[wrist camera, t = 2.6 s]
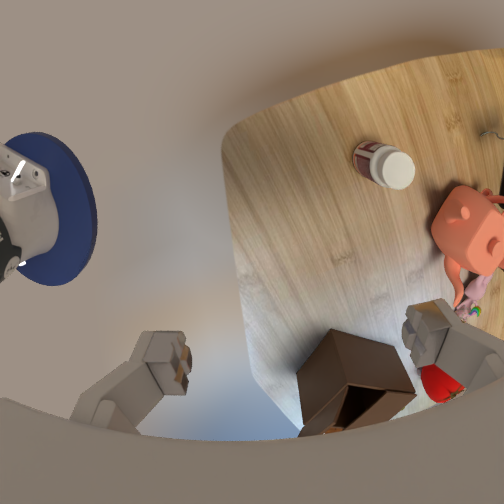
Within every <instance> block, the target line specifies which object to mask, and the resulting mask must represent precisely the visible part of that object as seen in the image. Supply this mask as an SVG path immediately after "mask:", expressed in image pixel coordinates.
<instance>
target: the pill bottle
mask: <svg viewBox="0 0 504 504" xmlns="http://www.w3.org/2000/svg"><path fill="white" fill-rule="evenodd" d="M353 164H354V167H355V169H356V170H357V171H358V173H360V174H361V175H362V176H364V177H366V178H368V179H370V180H371V181H373V182H375V183H377V184H378V185H380V186H382V187H386V188H392V189H396V190H401V189H404V188H406V187H408V186H409V185H410V184H411V182H412V181H413V178H414V175H415V166H414V163H413V161H412V159H411V157H410V156H409V155H407V154H406V153H404V152H402V151H401V150H400V149H398V148H397V147H395V146H391V145H386V144H382V143H378V142H373V141H366V142H363V143H361V144H360V145H358V147H357V148H356V149H355V151H354V154H353Z"/></svg>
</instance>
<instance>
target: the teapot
mask: <svg viewBox="0 0 504 504" xmlns="http://www.w3.org/2000/svg"><path fill="white" fill-rule="evenodd" d="M488 195H489V196H488ZM492 203H504V196H500V195H495V196H493V193H492V191H491V190H490V189H484V190H483V191H482V192H481V193H479V192H478V191H476V190H474V189H473V188H471V187H469V186H465V185H462V186H458V187H455V188H454V189H453V190H452V191H451V193H450V194H449V196H448V197H447V199H446V200H445V202H444V203H443V205H442V207H441V208H440V210H439V212H438V214H437V215H436V217H435V219H434V221H433V223H432V226H431V232H432V236H433V238H434V240H435V242H436V244H437V246H438V247H439V248H440V250H441V251H442V252H443V254H444V255H445V259H444V268H445V272H446V274H447V276H448V278H449V279H450V281H451V283H452V284H453V286H454V289H455V300H454V307H456V306H457V305H458V304H459V302H460V301H461V299H462V297H463V293H464V287H463V284H462V282H461V279H460V276H459V274H460V269H461V267H462V268H464V269H467V270H469V271H471V272H474V273H476V274H479V275H482V276H487V277H488V276H490V275H492V273H493V272H494V271H495V270H496V268H497V267H500V268H502V269H504V211H503V213H502V214H501V213H500V212H499V211H498V209H497V208H496V207H495V206H494V205H493V204H492Z"/></svg>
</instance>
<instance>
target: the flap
mask: <svg viewBox="0 0 504 504" xmlns="http://www.w3.org/2000/svg"><path fill="white" fill-rule="evenodd" d="M348 388H349V387H348V386H346V387H345V388H344V389H343V390H342V391H341V392H340V393H339V394H338V395H337V396H336V397H335V398H334V399H333V400H332V401H331V402H330V403H329V404H328V405H327V406H326V407H325V408H324V409H323V410H322V411H320V412H319V413H318V414H317V415H316V416H315V417H314V418H313V419H312V420H311V421H309V422H308V423H307V424H306V425H305V426H304V427H303V428H302V430H301V431H300V433H299V435H298V437H306V436H314V435H321V434H324V433H325V432H326V431H327V430H329V429H330V428H331V427H332V426H333V425H335V424H336V421H337V419H338V416H339V414H340V411H341V408H342V405H343V403H344V400H345V397H346V394H347V391H348ZM298 437H297V438H298Z"/></svg>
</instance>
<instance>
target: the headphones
mask: <svg viewBox="0 0 504 504" xmlns="http://www.w3.org/2000/svg"><path fill="white" fill-rule="evenodd" d="M486 133H495V134H496V135H497V137H498V134H497V133H496V132H485V133H483V134H481V136H482V135H484V134H486ZM498 138H499V139H503V140H504V138H500V137H498Z"/></svg>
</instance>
